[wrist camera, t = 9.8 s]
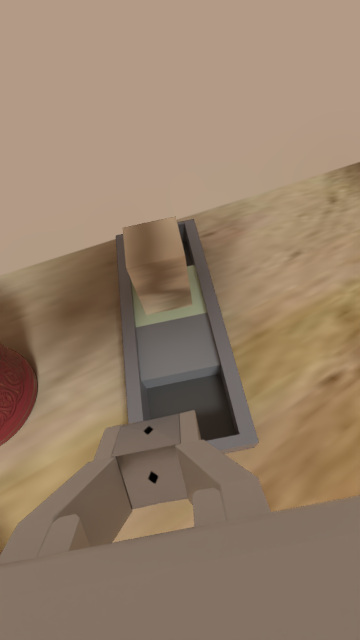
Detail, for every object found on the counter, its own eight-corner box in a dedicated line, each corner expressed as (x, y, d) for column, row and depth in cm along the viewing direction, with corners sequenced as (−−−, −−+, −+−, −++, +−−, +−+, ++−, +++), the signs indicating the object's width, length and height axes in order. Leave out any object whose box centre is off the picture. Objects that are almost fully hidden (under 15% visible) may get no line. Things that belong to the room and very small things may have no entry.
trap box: (195, 238, 46) (193, 218, 42) (254, 447, 30) (258, 442, 26) (123, 254, 46) (115, 235, 43) (141, 469, 30) (131, 467, 26)
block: (184, 269, 39) (175, 216, 31) (192, 305, 36) (185, 255, 28) (141, 278, 39) (122, 227, 31) (146, 315, 36) (126, 268, 28)
